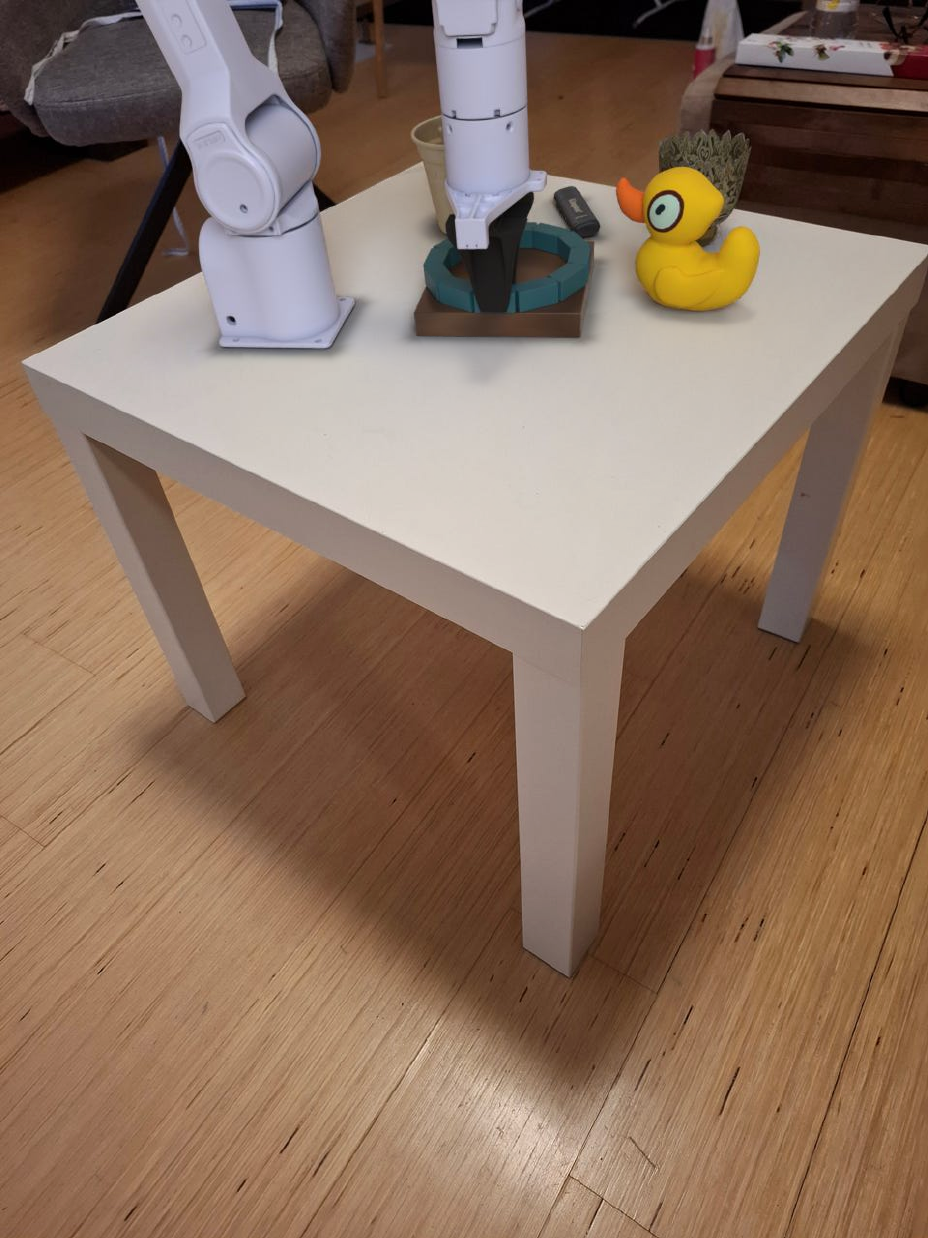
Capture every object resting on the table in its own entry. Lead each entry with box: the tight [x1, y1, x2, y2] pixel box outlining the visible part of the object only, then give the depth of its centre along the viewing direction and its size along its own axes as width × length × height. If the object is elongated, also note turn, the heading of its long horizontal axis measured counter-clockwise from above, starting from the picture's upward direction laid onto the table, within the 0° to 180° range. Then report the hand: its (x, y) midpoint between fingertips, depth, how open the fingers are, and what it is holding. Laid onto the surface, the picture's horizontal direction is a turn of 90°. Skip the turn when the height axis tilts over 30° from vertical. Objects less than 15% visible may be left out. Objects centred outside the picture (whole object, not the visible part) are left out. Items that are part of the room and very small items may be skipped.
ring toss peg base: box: [413, 240, 595, 338], centre depth 71 cm, size 13×13×6 cm
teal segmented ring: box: [423, 221, 591, 313], centre depth 71 cm, size 13×13×2 cm
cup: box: [658, 128, 752, 247], centre depth 75 cm, size 8×7×8 cm
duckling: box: [615, 167, 761, 312], centre depth 66 cm, size 11×5×10 cm, turn 58°
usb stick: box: [553, 185, 601, 238], centre depth 82 cm, size 10×3×2 cm, turn 8°
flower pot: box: [410, 114, 454, 235], centre depth 81 cm, size 9×9×9 cm
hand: (496, 303), depth 67 cm, fingers closed on teal segmented ring, 2 cm apart
